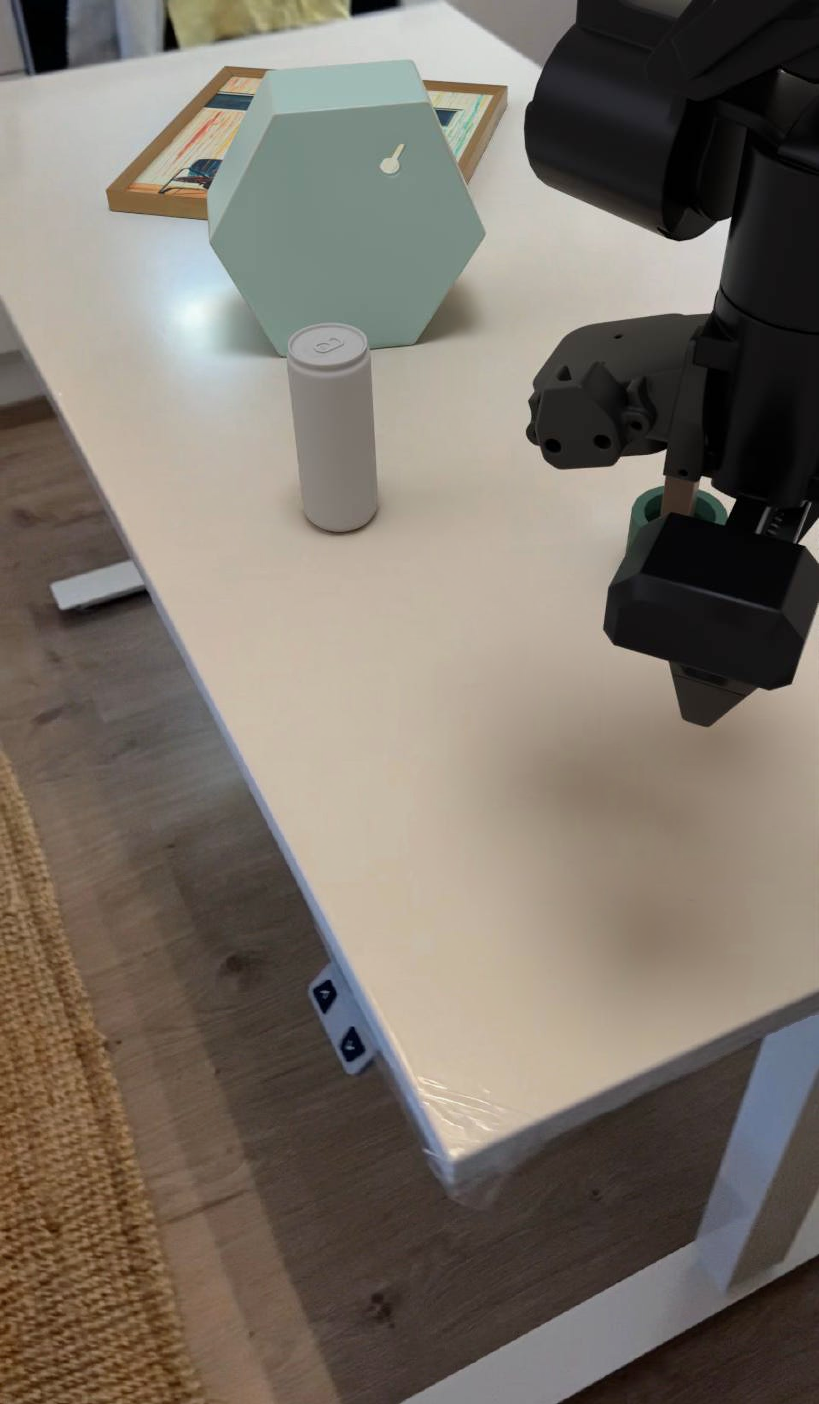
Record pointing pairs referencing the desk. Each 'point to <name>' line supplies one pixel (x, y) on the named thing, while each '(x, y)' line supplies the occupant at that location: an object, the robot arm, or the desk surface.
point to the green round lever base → (650, 509)
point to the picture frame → (205, 128)
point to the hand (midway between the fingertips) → (727, 645)
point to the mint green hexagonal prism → (342, 204)
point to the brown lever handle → (679, 496)
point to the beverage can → (334, 424)
